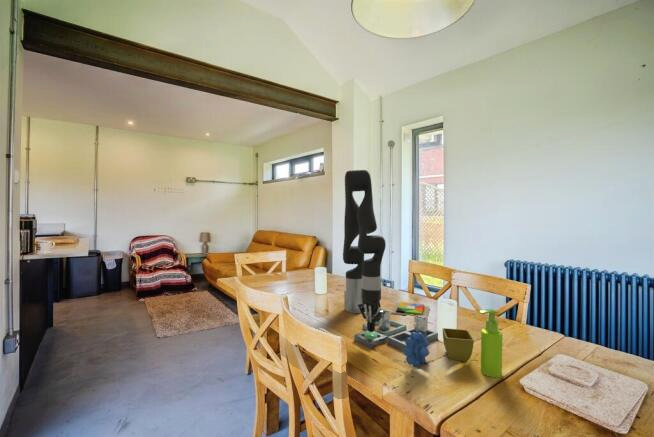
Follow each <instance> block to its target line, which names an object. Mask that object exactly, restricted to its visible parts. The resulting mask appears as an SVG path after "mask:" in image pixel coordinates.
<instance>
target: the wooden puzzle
mask: <svg viewBox="0 0 654 437" xmlns="http://www.w3.org/2000/svg"><path fill="white" fill-rule="evenodd" d="M429 310H430V306H429V305H425V304H424V303H423V304H422V303H416V302H406V301H400V302H395V304H394V305H393V307H392V310H391V311H390V315H399V316H402V317H408V316H411V317H415V316H417V315H421V316H426V317H427V318H428V315H429Z"/></svg>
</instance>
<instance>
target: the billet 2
mask: <svg viewBox="0 0 654 437" xmlns="http://www.w3.org/2000/svg"><path fill="white" fill-rule="evenodd" d="M413 318H414V321H413V322H414V327H413V328H414V332H416V333H419V332H421V333H423V334H424V337H425V336H427V335H428V328H429V325H428V322H429V321H428V317H426V316H421V315H417V316H413Z"/></svg>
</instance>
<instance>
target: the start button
mask: <svg viewBox="0 0 654 437" xmlns="http://www.w3.org/2000/svg"><path fill="white" fill-rule="evenodd" d="M364 337H365V338H367V339H369V340H373V339H375V338H377V334H376V333H373V332H367V333H365V334H364Z"/></svg>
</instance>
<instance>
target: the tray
mask: <svg viewBox="0 0 654 437" xmlns="http://www.w3.org/2000/svg"><path fill="white" fill-rule="evenodd" d="M375 326H378V322H375ZM390 326H394V327H395V328H390V330H388V331H381V330H379V329H376V328H375V330H374V331H376V332H378V333H380V334H383V335H385V336H387V337H389V336H392V335H395V334H398V333H401V332H403V331H406V330H407V325H406V324H403V323H401V322H398V321H395V320H393V319H390ZM362 330H365V331H367V330H368V329H367V322H366V323H363V324H362Z"/></svg>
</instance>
